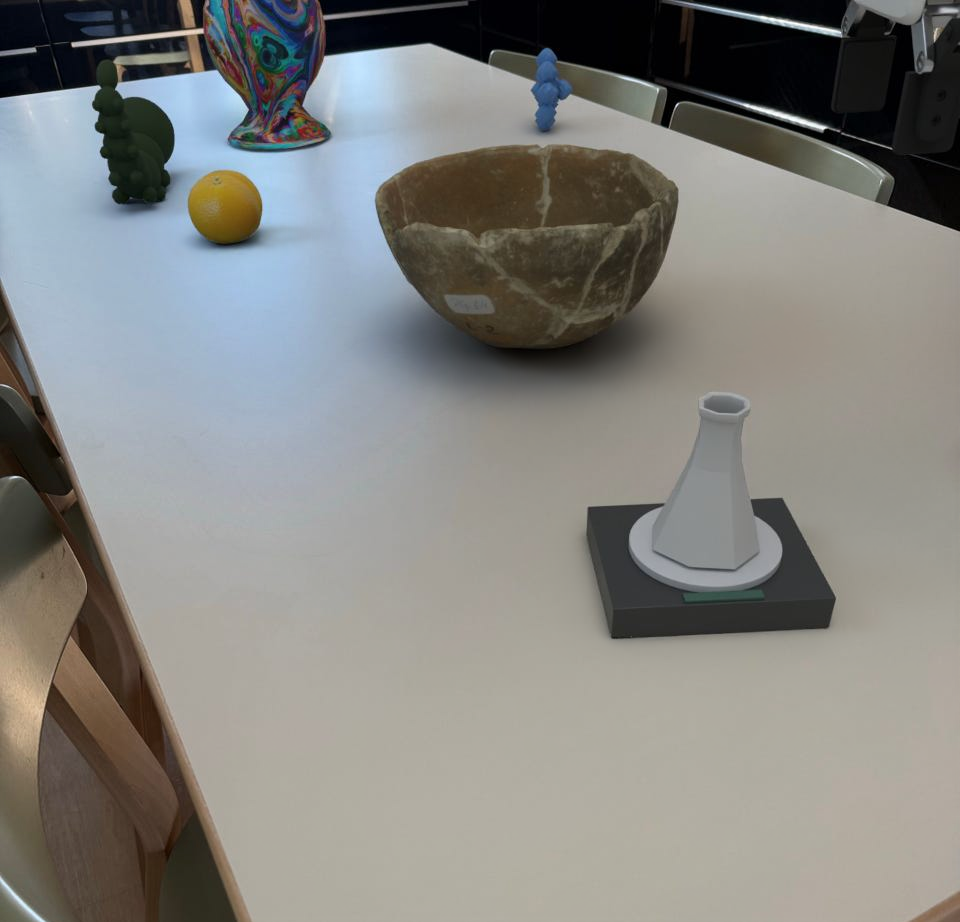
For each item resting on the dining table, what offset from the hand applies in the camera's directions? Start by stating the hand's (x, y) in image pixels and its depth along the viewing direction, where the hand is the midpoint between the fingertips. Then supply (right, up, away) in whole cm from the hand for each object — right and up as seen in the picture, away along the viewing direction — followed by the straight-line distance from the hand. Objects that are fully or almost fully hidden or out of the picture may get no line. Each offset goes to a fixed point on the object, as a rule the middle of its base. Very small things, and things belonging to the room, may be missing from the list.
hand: (886, 130), depth 60 cm
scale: (-9, -26, +10) cm, 29 cm away
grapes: (-12, +53, +106) cm, 119 cm away
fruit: (-55, +20, +67) cm, 88 cm away
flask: (-9, -24, +8) cm, 26 cm away
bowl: (-19, 0, +41) cm, 45 cm away
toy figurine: (-71, +33, +83) cm, 114 cm away
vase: (-56, +51, +105) cm, 130 cm away
